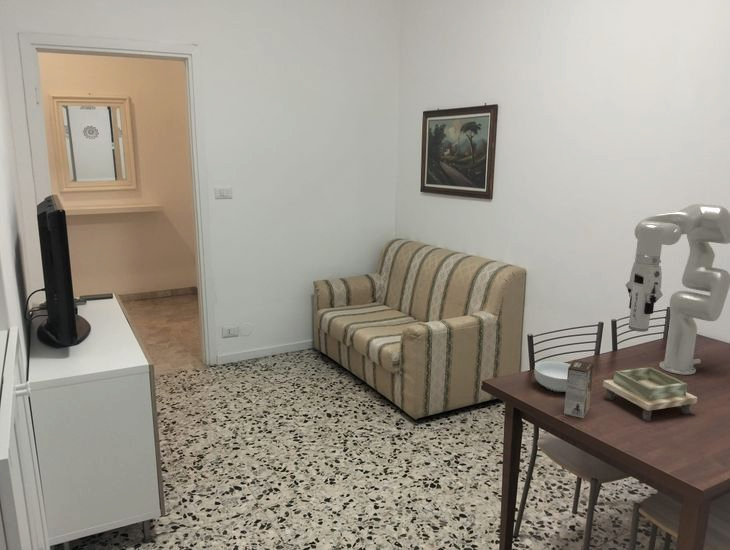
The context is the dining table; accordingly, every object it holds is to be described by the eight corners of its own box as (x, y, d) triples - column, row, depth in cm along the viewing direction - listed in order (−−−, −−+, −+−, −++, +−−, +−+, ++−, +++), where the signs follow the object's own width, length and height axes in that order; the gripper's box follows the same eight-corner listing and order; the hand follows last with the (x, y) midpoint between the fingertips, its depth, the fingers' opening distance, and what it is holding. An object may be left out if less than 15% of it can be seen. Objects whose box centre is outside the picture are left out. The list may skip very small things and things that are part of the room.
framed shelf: (646, 390, 200) (650, 364, 198) (694, 414, 181) (699, 385, 179) (601, 396, 194) (604, 369, 192) (646, 422, 175) (650, 393, 173)
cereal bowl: (548, 399, 191) (550, 380, 190) (524, 380, 207) (525, 362, 206) (592, 395, 195) (594, 376, 194) (565, 377, 211) (566, 359, 209)
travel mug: (644, 326, 197) (650, 271, 193) (651, 332, 191) (658, 275, 187) (625, 325, 198) (631, 270, 194) (631, 331, 191) (638, 274, 187)
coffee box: (569, 403, 188) (574, 358, 185) (589, 408, 185) (594, 362, 181) (563, 414, 180) (567, 367, 177) (583, 419, 177) (589, 371, 174)
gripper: (676, 264, 182) (669, 317, 186) (637, 255, 198) (631, 304, 202) (658, 265, 180) (651, 318, 184) (620, 256, 196) (614, 305, 200)
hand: (640, 310), depth 193 cm, fingers closed on travel mug, 6 cm apart
